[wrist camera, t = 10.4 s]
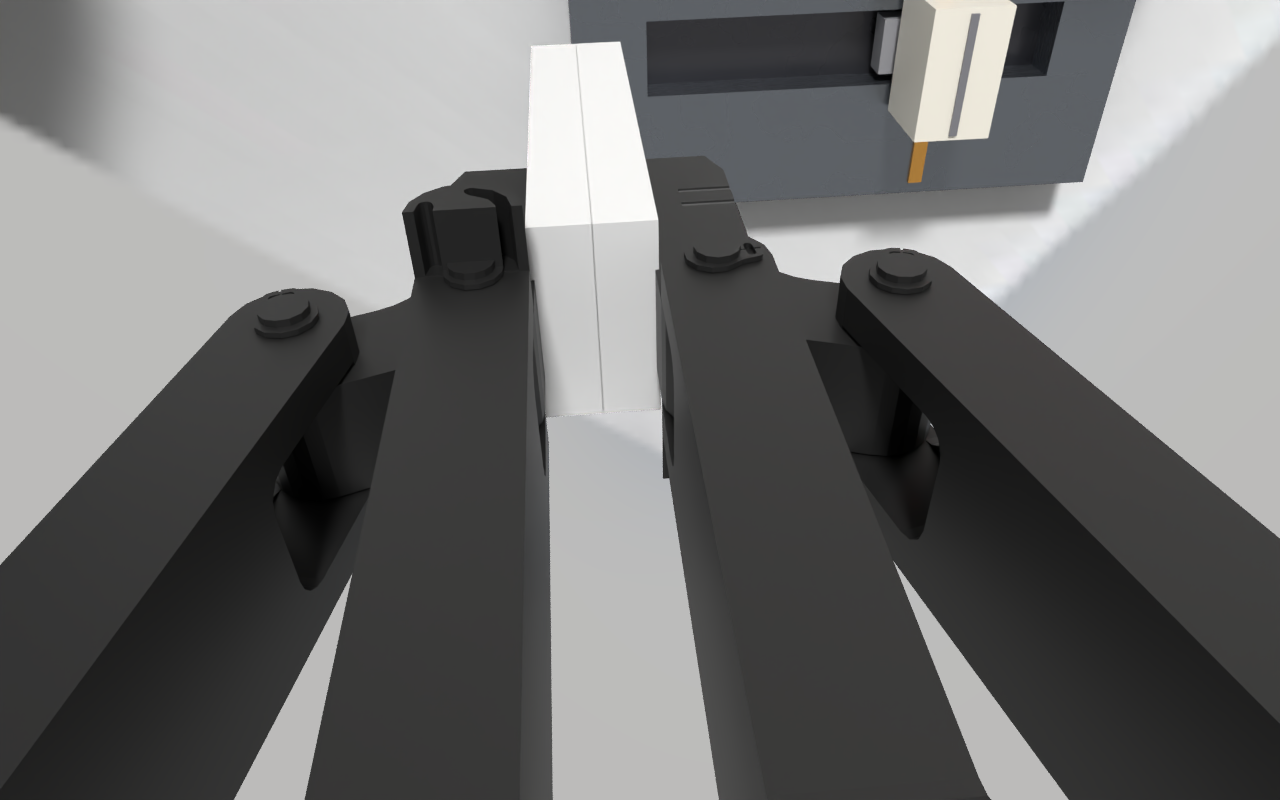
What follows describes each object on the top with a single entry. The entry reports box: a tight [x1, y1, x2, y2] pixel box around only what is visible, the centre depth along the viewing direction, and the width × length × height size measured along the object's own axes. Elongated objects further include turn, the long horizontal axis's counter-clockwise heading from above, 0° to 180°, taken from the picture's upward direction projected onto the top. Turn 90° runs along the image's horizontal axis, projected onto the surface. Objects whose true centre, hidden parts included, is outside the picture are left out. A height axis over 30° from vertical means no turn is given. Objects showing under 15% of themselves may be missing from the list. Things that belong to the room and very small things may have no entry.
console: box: [568, 0, 1136, 202], centre depth 39 cm, size 23×13×3 cm, turn 91°
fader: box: [871, 0, 1017, 142], centre depth 37 cm, size 4×5×5 cm
